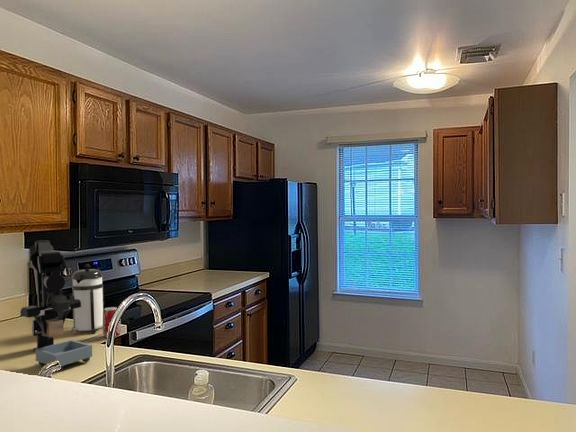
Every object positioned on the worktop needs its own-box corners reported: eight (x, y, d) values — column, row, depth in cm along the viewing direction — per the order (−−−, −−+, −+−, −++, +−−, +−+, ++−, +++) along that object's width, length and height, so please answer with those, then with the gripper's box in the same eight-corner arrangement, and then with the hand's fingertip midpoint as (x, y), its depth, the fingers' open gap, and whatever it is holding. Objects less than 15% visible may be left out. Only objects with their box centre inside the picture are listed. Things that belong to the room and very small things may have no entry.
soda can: (114, 339, 186) (114, 310, 185) (99, 338, 187) (98, 310, 187) (124, 334, 192) (123, 306, 192) (109, 333, 194) (108, 306, 194)
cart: (36, 365, 155) (35, 349, 155) (72, 355, 166) (71, 339, 165) (56, 373, 147) (55, 355, 147) (92, 361, 158) (92, 345, 158)
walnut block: (42, 335, 156) (41, 321, 156) (56, 332, 161) (55, 318, 160) (49, 337, 154) (48, 323, 154) (63, 334, 158) (63, 319, 158)
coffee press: (113, 331, 198) (111, 263, 197) (73, 337, 189) (71, 267, 188) (104, 323, 212) (102, 260, 212) (67, 328, 203) (65, 263, 203)
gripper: (35, 294, 145) (36, 341, 145) (89, 285, 160) (90, 328, 160) (18, 291, 151) (20, 337, 151) (72, 283, 166) (73, 324, 166)
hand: (52, 331), depth 157 cm, fingers closed on walnut block, 5 cm apart
